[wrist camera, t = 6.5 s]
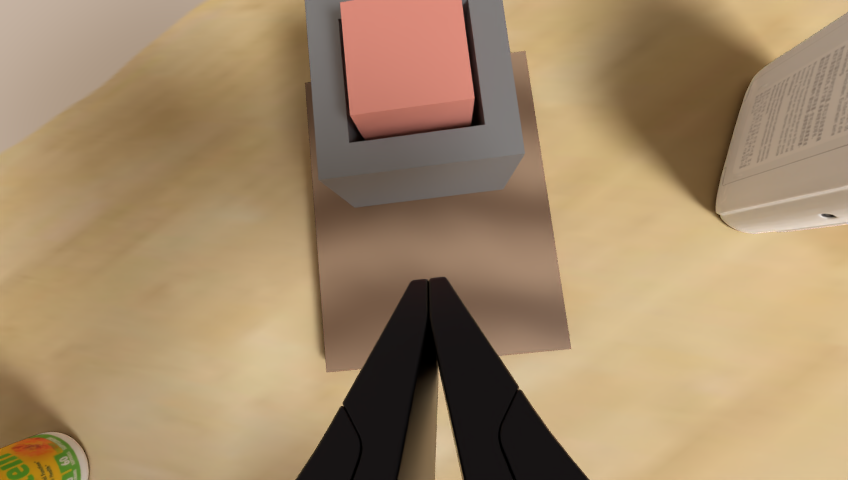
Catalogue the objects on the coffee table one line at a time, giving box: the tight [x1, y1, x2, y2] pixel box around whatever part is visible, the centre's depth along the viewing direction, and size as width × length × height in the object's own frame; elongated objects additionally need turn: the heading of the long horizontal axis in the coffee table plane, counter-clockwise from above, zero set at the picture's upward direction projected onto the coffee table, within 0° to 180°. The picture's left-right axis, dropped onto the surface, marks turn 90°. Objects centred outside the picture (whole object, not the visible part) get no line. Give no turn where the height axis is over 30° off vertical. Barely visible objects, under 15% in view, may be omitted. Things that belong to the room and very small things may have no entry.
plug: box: [340, 0, 475, 141], centre depth 17 cm, size 5×5×6 cm
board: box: [305, 51, 571, 372], centre depth 22 cm, size 18×14×1 cm
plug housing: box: [305, 0, 525, 208], centre depth 19 cm, size 9×9×6 cm
